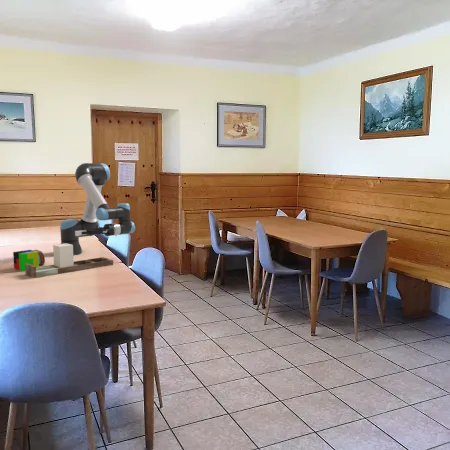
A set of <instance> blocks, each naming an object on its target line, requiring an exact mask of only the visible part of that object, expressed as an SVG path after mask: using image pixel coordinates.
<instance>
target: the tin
mask: <svg viewBox="0 0 450 450" xmlns="http://www.w3.org/2000/svg"><path fill="white" fill-rule="evenodd" d="M33 251H37V252H38V256H39V266H43V265H44V264H45V263H46V261H45V260H46V259H45V254H44V253H43V251H41V250H38V249H33ZM44 266H45V265H44Z"/></svg>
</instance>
